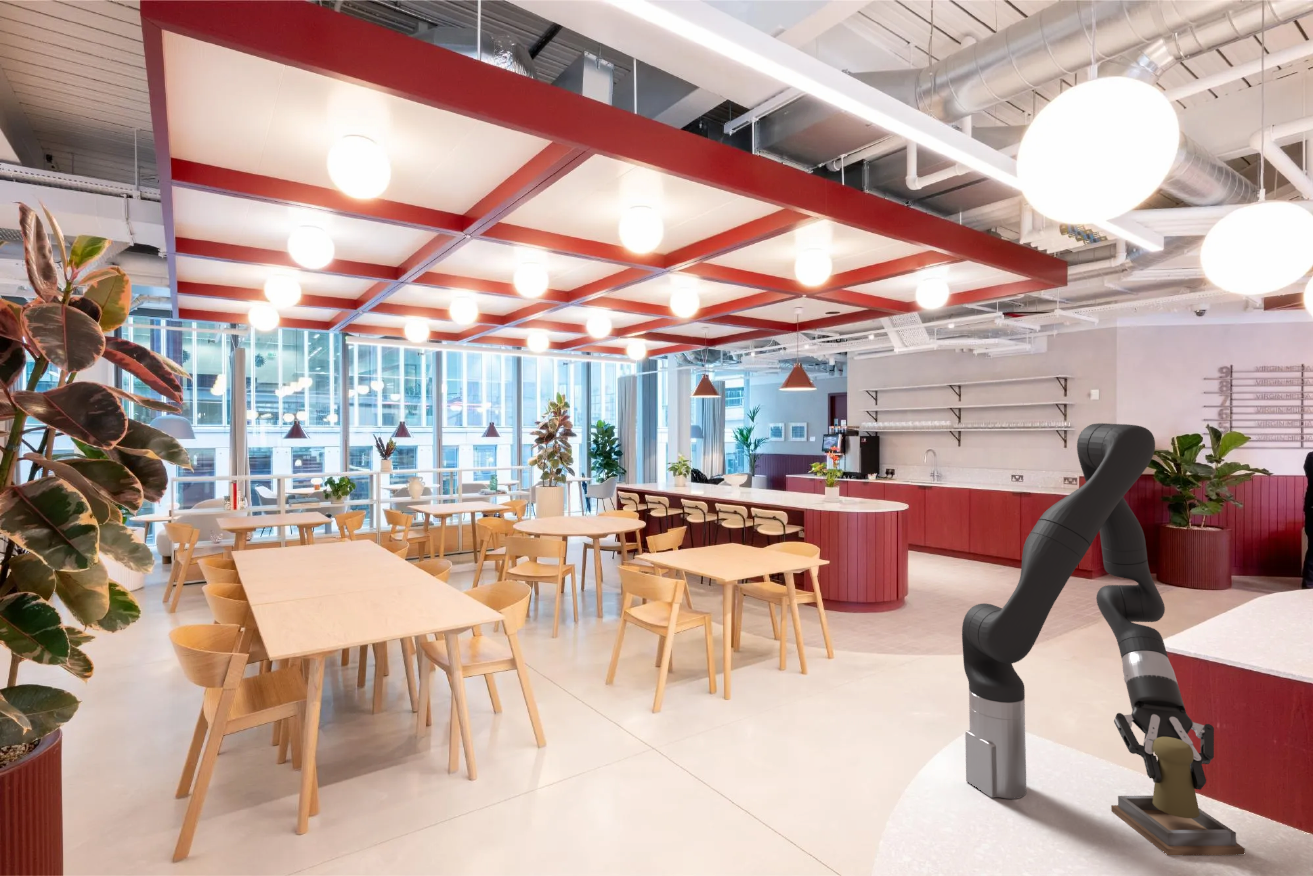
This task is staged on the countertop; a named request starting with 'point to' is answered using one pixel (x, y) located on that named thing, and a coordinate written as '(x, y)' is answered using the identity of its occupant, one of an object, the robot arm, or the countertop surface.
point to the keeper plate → (1177, 829)
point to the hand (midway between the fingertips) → (1178, 784)
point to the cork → (1175, 778)
